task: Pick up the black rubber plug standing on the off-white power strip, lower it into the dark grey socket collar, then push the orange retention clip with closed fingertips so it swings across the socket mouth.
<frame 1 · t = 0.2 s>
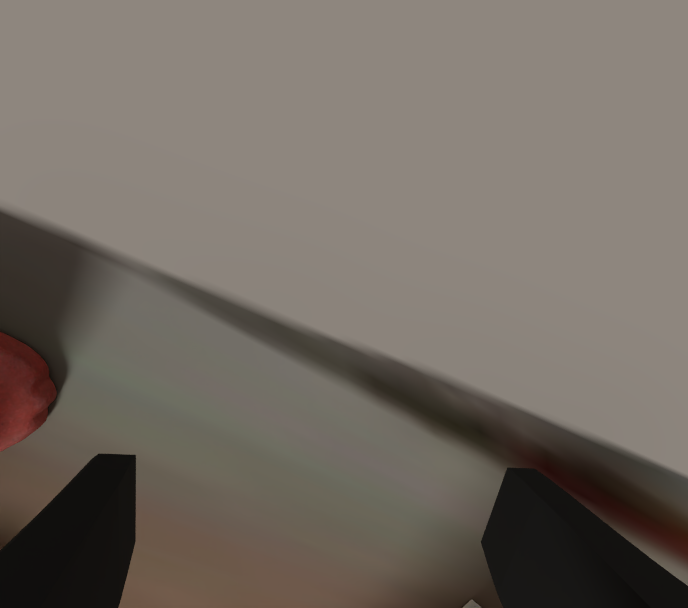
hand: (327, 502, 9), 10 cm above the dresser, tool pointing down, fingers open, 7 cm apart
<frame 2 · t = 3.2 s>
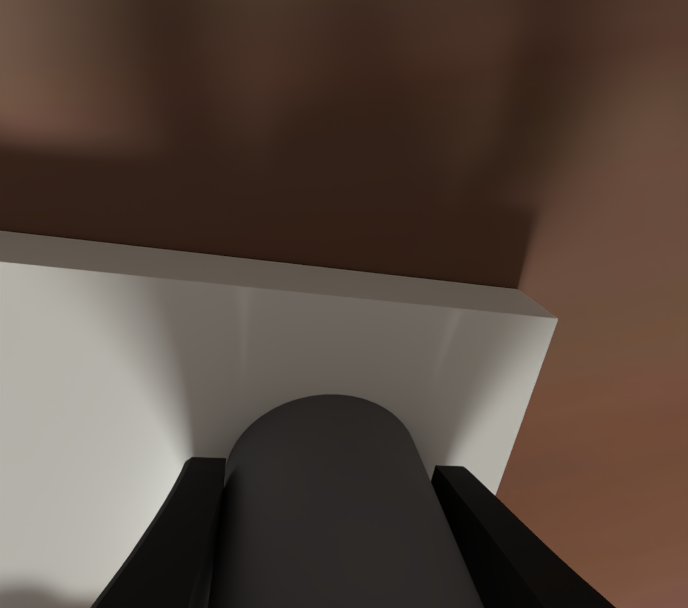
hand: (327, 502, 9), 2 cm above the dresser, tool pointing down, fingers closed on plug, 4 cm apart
plug: (323, 476, 10), point 2 cm above the dresser, touching gripper, strip
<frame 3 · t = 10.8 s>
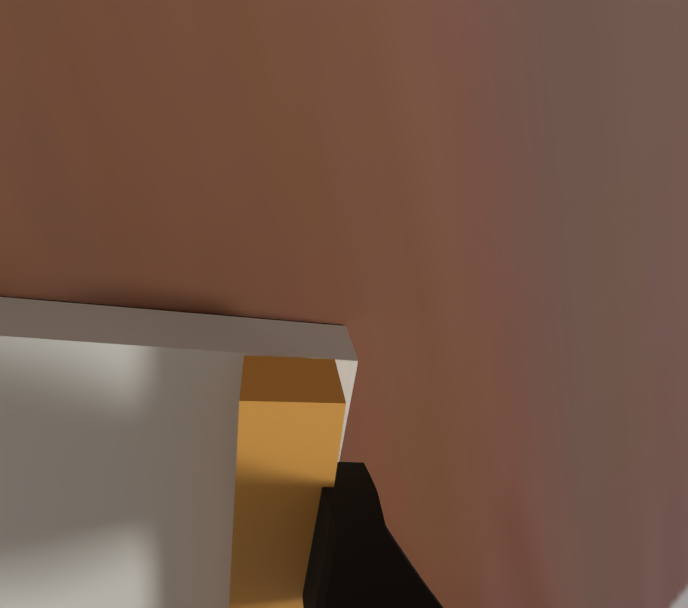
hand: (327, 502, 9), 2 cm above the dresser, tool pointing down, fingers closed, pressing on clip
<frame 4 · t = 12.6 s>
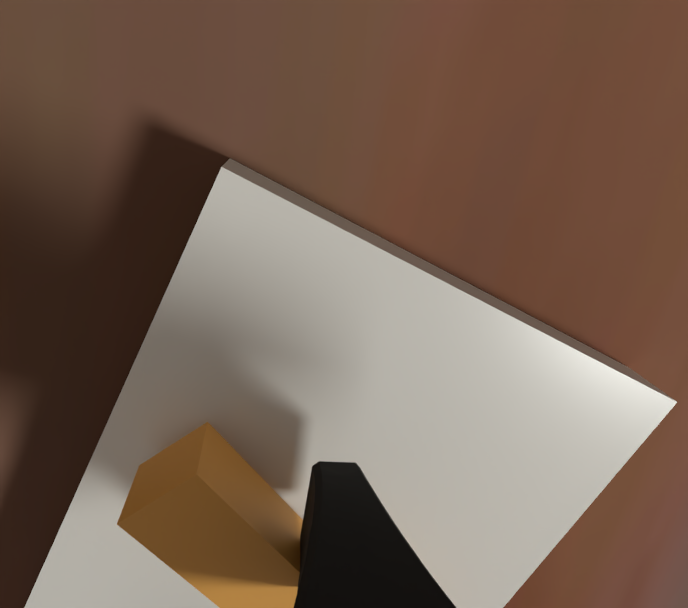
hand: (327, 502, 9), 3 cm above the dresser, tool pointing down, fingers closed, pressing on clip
strip: (251, 605, 14), on the dresser
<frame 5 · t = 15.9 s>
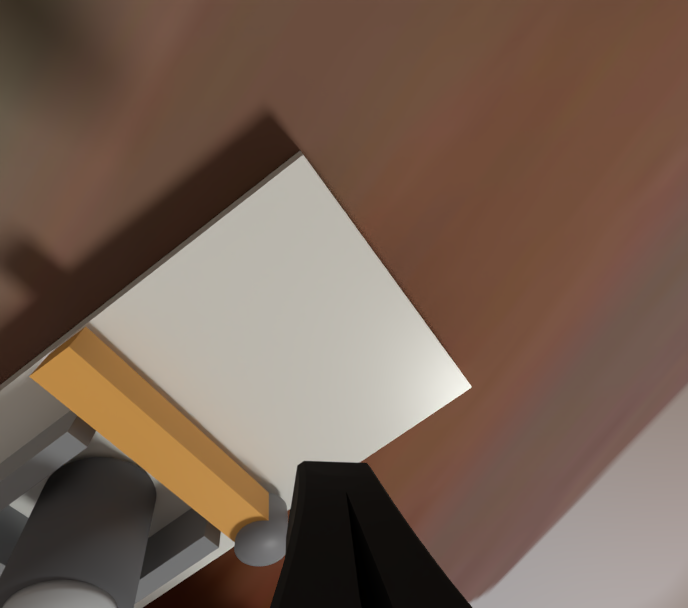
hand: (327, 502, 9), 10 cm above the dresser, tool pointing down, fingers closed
clip: (181, 459, 17), point 3 cm above the dresser, hinge at 89.2°
plug: (101, 496, 18), point 2 cm above the dresser, touching strip
strip: (170, 428, 20), on the dresser
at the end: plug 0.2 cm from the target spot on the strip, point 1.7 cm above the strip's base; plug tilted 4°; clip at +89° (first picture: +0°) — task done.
